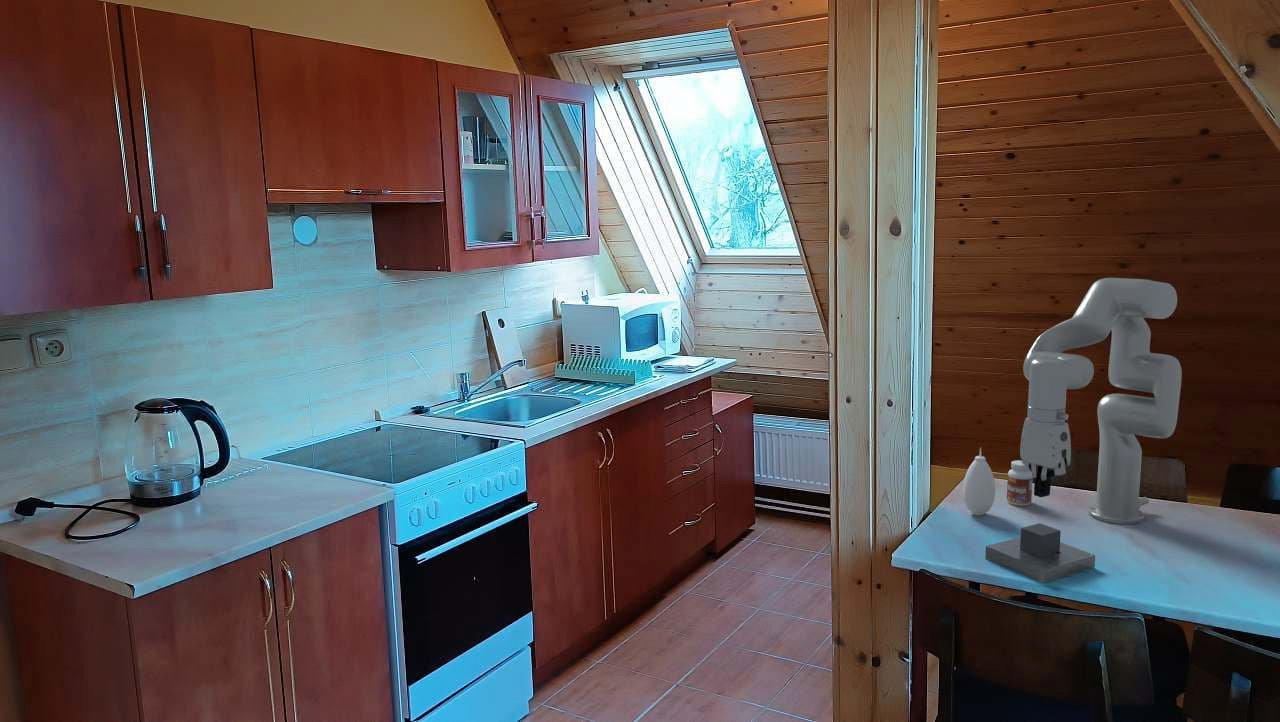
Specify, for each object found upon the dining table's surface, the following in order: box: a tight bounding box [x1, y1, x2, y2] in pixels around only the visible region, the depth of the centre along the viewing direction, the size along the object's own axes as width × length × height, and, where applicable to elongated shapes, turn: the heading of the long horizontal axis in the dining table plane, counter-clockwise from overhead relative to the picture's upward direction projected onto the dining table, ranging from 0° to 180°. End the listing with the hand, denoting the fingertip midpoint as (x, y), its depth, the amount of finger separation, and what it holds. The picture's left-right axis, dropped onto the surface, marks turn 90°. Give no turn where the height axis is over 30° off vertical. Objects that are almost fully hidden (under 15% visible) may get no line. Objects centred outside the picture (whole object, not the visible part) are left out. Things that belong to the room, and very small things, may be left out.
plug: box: [1020, 522, 1062, 557], centre depth 208 cm, size 6×6×8 cm
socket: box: [984, 536, 1096, 584], centre depth 208 cm, size 16×16×4 cm
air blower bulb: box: [962, 446, 996, 517], centre depth 239 cm, size 8×8×18 cm
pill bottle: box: [1006, 459, 1034, 507], centre depth 247 cm, size 6×6×11 cm
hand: (1041, 495), depth 205 cm, fingers closed
